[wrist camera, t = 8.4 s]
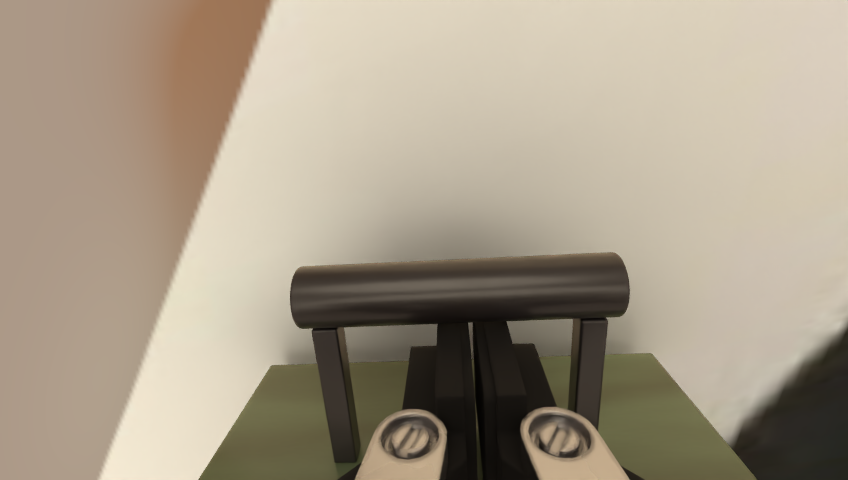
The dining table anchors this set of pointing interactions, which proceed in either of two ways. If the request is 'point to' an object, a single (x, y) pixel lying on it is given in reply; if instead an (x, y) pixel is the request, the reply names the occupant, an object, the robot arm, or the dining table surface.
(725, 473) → the drawer
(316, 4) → the dining table surface
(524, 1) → the dining table surface
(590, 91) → the dining table surface
